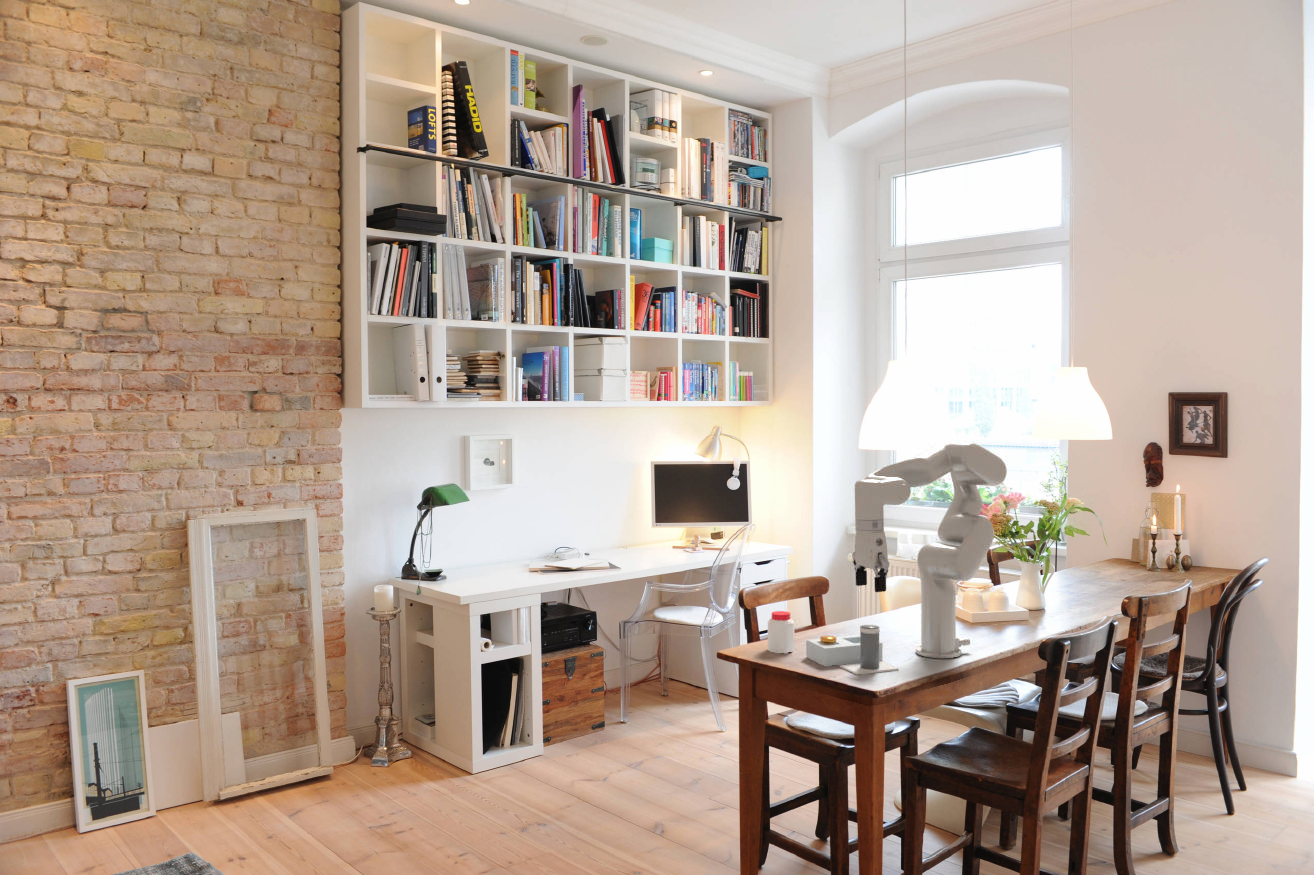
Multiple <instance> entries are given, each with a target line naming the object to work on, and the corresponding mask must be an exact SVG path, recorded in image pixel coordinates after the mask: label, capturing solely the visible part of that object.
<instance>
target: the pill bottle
mask: <svg viewBox="0 0 1314 875" xmlns="http://www.w3.org/2000/svg"><path fill="white" fill-rule="evenodd" d="M794 650H796V649H795V621H794V620H793V619H792V618H791V612H789V611H785V610H784V611H783V610H779V611H778V610H776V611H772V612H771V618H770V619H768V621H767V651H768V652H769V651H770V653H772V652H775V653H774V654H780V653H784V654H788V653H787V652H792V651H794ZM794 652H795V651H794ZM792 653H793V652H792Z"/></svg>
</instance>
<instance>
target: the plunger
mask: <svg viewBox="0 0 1314 875" xmlns="http://www.w3.org/2000/svg"><path fill="white" fill-rule="evenodd" d="M836 637H837V636H833V635H822V636H820V637H819V639H820V641H821V642H822V645H824V646H826V645H835V642H836Z"/></svg>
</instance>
